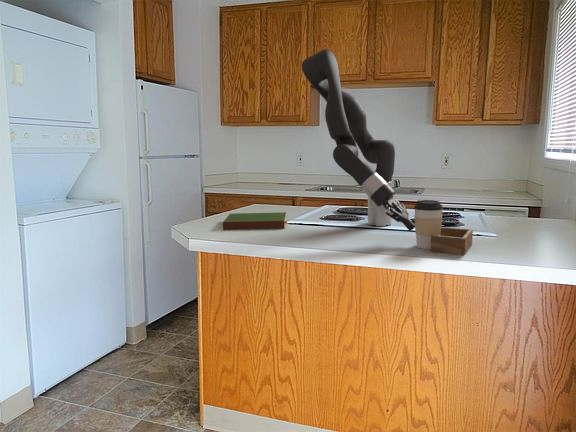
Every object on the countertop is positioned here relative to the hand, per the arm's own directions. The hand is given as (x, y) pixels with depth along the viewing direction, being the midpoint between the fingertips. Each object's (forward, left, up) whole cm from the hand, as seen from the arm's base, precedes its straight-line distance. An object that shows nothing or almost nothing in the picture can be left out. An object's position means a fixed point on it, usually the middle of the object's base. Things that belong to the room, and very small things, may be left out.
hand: (413, 228), depth 153 cm
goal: (0, +12, -5) cm, 13 cm away
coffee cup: (0, +5, -5) cm, 7 cm away
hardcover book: (-8, -67, -6) cm, 67 cm away
